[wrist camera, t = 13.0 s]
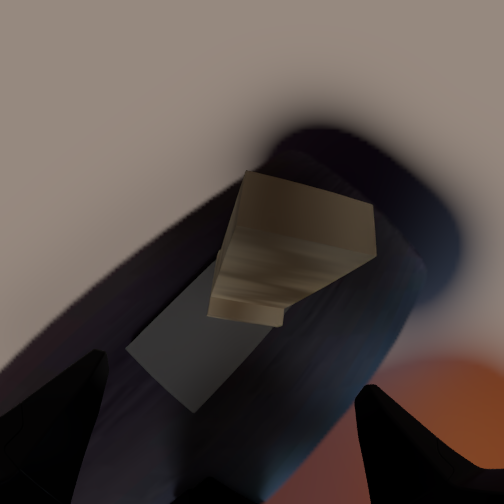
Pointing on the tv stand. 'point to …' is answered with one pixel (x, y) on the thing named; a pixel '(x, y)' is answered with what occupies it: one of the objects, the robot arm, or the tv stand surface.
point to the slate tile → (194, 345)
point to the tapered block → (286, 247)
